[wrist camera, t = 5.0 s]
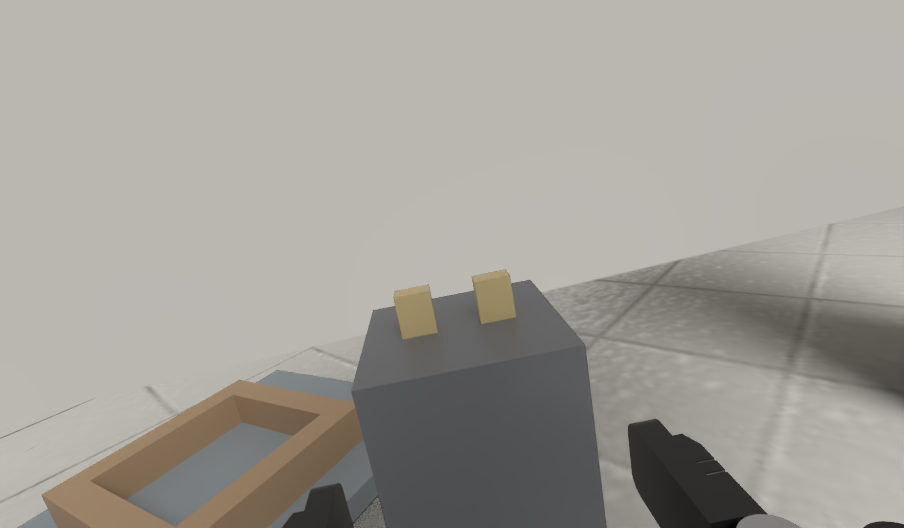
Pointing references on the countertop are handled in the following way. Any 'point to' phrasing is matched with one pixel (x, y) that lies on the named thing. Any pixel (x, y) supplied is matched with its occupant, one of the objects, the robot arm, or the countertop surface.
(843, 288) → the countertop surface
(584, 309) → the countertop surface
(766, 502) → the countertop surface
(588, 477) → the connector
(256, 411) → the holder
